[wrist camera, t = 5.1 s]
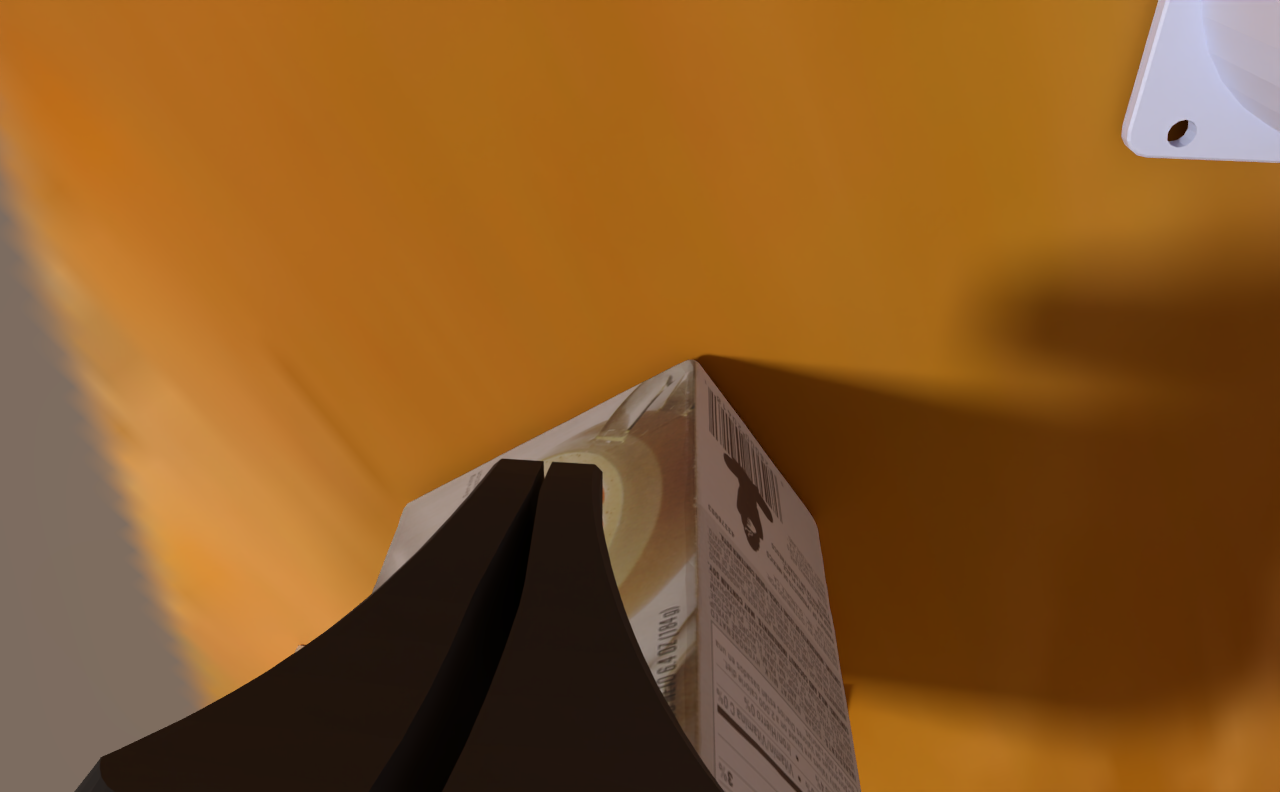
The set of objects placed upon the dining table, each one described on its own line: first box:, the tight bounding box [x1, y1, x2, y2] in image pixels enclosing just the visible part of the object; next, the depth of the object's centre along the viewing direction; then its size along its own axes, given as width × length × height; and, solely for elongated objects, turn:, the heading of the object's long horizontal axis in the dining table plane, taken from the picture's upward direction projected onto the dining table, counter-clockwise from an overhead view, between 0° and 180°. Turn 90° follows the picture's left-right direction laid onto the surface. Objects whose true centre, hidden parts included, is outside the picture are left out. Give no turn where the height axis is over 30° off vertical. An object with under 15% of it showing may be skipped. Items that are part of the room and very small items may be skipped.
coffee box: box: [372, 360, 861, 792], centre depth 18 cm, size 9×6×16 cm
